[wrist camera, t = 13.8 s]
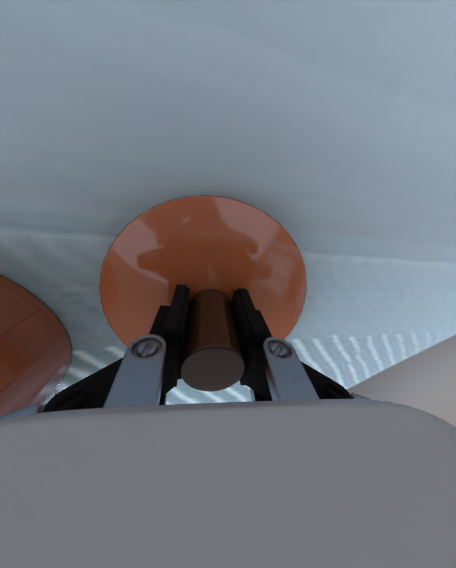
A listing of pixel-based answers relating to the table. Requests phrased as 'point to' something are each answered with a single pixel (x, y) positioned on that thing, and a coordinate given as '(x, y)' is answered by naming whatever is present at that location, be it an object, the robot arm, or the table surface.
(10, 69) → the table surface
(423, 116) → the table surface
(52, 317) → the canister
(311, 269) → the table surface
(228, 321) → the lid
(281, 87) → the table surface
